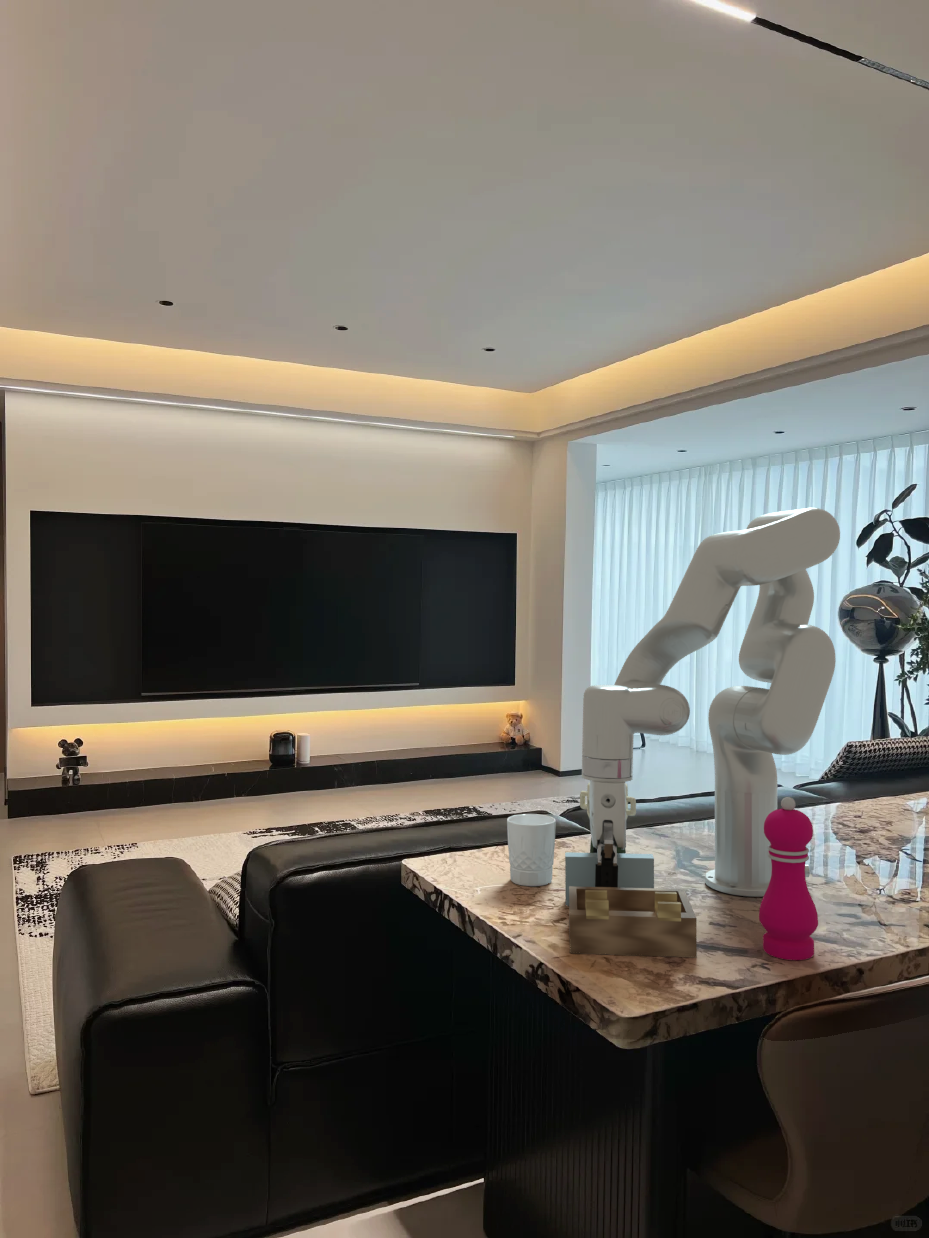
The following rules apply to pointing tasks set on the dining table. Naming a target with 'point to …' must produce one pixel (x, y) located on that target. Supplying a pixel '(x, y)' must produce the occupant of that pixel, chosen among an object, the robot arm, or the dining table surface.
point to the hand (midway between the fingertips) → (604, 882)
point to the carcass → (631, 922)
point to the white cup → (531, 848)
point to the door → (630, 870)
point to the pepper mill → (788, 886)
